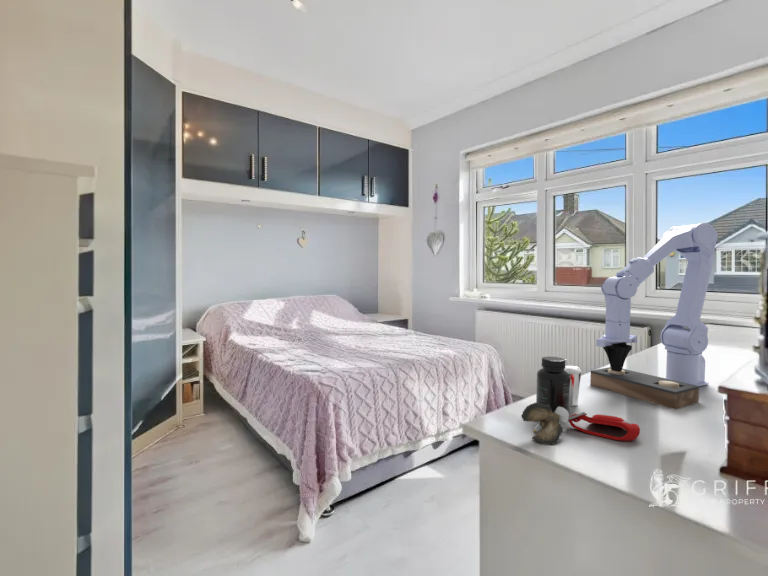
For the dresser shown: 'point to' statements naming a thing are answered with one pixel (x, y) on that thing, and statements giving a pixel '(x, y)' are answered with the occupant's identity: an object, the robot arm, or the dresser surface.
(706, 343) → the robot arm
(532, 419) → the eagle figurine
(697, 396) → the block
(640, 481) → the dresser surface
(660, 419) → the dresser surface
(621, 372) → the peg
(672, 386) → the peg
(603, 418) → the tracker holder
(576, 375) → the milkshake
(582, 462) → the dresser surface
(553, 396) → the supplement bottle
